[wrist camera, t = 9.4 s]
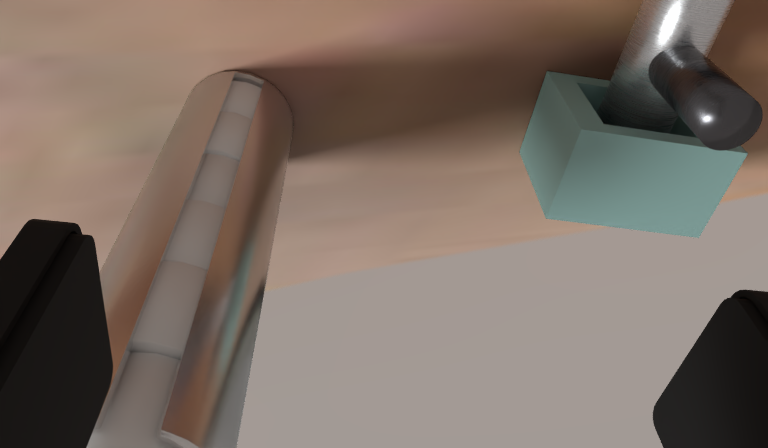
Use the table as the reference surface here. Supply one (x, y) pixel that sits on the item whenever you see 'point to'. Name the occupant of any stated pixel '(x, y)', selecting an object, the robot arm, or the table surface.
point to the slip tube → (679, 76)
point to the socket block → (619, 165)
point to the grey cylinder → (195, 270)
